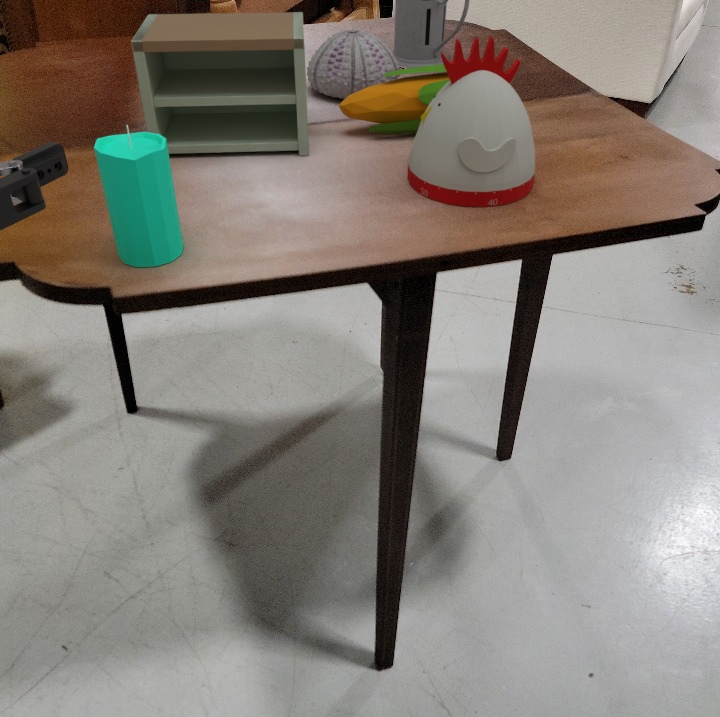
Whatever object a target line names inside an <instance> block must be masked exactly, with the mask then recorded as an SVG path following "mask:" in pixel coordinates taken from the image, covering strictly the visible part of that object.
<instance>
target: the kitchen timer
mask: <svg viewBox="0 0 720 717" xmlns="http://www.w3.org/2000/svg"><path fill="white" fill-rule="evenodd" d="M508 55H509V49H508V47H506V46H504V47H503V48H502V49H501V50H500V52H499V54H497V57H495V39H494V37H493V36H492V35H489V37H488V39H487V42H486V46H485V49H484V52H483V55H482V57H481V55H480V40H479V37H478V36H477V35H475V37H474V38H473V41H472V45H471V47H470V52H469V55H468V58H466V59H465V55H464V52H463V47H462V44H461V41H460V40H459V38H456V39H455V42H454V51H453V59H452V60H450V61H449V60H448V58H447V57H446V56H445V54H444V52H443V53H442V52H441V58H442V61H443V64H444V67H445V69H446V71H447V74H448V76H449V79H450V81H449V82H448V83H447V84H446V85H445V86H443V87H442V89H441V90H440V91H439V92H438V93H437V94H436V95H435V96H434V98H433V100H432V101H431V103H430V104H429V106H428V107H427V109H426V111H425V113H424V114H423V115H422V116H421V123H420V125H419V128H418V131H417V133H415V137H414V140H413V142H412V145H411V148H410V152H409V156H408V165H407V181H408V183H409V186H410V187H411V188H412V189H413V190H414V191H416V193H418V194H419V195H422V196H424V197H426V198H428V199H429V200H433V201H435V202H440V203H443V204H446V205H452V206H459V207H468V208H469V207H470V208H472V207H474V208H487V207H496V206H503V205H508V204H510V203H514V202H517V201H519V200H521V199H523V198H525V197H527V196H528V195H529V193H531V191H532V190H533V187H534V181H535V175H536V150H535V149H536V148H535V142H534V136H533V131H532V130H533V129H532V125H531V124H532V123H531V121H530V117H529V113H528V112H527V109H526V107H525V105H524V102H523V101H522V99H521V97H520V96H519V94H518V93H517V91H516V90H515V88H514V87H513V86H512V85H511V82H512V81H513V79H514V77H515V76H516V74H517V72H518V70H519V69H520V68H519V67H520V65H521V60H520V58H516V60H514V61H513V63H512V64H511V66H510V67H509V68H508V69H507V70H505V71H504V66H505V63H506V60H507V57H508Z"/></svg>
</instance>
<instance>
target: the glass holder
mask: <svg viewBox="0 0 720 717" xmlns="http://www.w3.org/2000/svg"><path fill="white" fill-rule="evenodd" d="M448 2H449V0H395V8H394V9H395V11H394V41H393V42H394V44H393V53H394V57H395V58H396V60H397V62H398V63H399V64H398V66H402V67H406V68H415V67H423V66H431V65H440V64H443V61H442V58H441V52H442V53H443V54H444V49H445V48H444V47H445V45H446V44H447V43H448V42H449V41H450V40H451V39H453V37H455V36H456V34H458V32H460V30H461V28H462V26H463V25H464V23H465V19H466V18H467V14H468V11H469V7H470V0H464V5H463V10H462V14H461V16H460V18H459V20H458V23H457V26H456V27H455V28H454V30H452V32H451V33H450V34H449V35H448V36H447V37H446V38H445V33H446V21H447V20H446V19H447V7H448V6H447V4H448Z"/></svg>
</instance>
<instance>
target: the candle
mask: <svg viewBox="0 0 720 717" xmlns="http://www.w3.org/2000/svg"><path fill="white" fill-rule="evenodd" d="M125 127H126V131H127V133H121V134H112V135H106V136H103V137H98V138H96V140H95V144H94V146H93V150H94V155H95V159H96V163H97V168H98V172H99V176H100V180H101V186H102V189H103V194H104V195H103V196H104V199H105V202H106V208H107V212H108V216H109V220H110V225H111V229H112V235H113V238H114V242H115V248H116V251H117V256H118V258H119V259H120V260H121V262H123V264H125V265H127V266H132V267H135V268H156V267H159V266H162V265H167V264H169V263H172V262H174V261H175V260H177V258H179V257H180V256H182V255H183V250H184V239H183V234H182V227H181V221H180V214H179V209H178V203H177V196H176V191H175V190H176V189H175V184H174V178H173V172H172V167H171V166H172V165H171V158H170V154H169V153H168V147H167V141H166V138H165V137H163V136H161V135H160V134H156V133H150V132H147V131H139V132H130V130H129V125H128V124H125Z"/></svg>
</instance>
